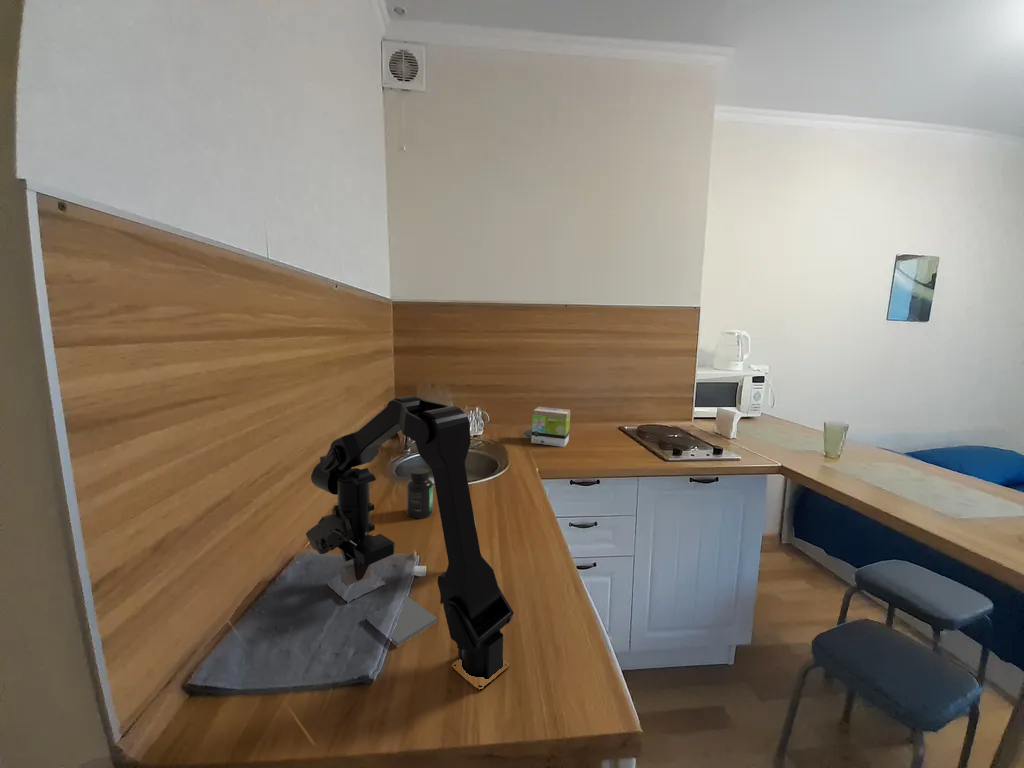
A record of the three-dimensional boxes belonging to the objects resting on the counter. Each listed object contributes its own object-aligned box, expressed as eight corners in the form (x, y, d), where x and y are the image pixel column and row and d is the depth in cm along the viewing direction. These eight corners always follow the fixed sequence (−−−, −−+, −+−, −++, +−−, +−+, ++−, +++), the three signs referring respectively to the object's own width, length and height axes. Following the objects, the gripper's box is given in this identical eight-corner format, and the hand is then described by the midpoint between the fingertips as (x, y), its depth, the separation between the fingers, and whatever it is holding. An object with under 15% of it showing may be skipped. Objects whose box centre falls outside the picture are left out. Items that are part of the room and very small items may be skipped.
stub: (385, 584, 87) (385, 561, 86) (347, 603, 81) (346, 578, 80) (363, 569, 92) (363, 546, 91) (326, 585, 86) (325, 561, 85)
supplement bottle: (437, 514, 119) (437, 471, 117) (415, 521, 114) (415, 477, 113) (424, 506, 124) (424, 465, 122) (402, 512, 119) (401, 470, 118)
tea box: (530, 443, 190) (531, 410, 188) (536, 438, 199) (537, 406, 197) (565, 447, 186) (566, 413, 184) (569, 441, 195) (570, 408, 193)
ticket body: (437, 624, 76) (437, 617, 76) (397, 649, 70) (397, 641, 70) (405, 600, 82) (405, 594, 82) (366, 621, 76) (366, 614, 76)
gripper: (289, 498, 84) (293, 574, 86) (337, 531, 72) (339, 618, 74) (344, 483, 92) (346, 553, 94) (396, 510, 80) (396, 589, 82)
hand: (355, 576), depth 86 cm, fingers closed on stub, 2 cm apart
